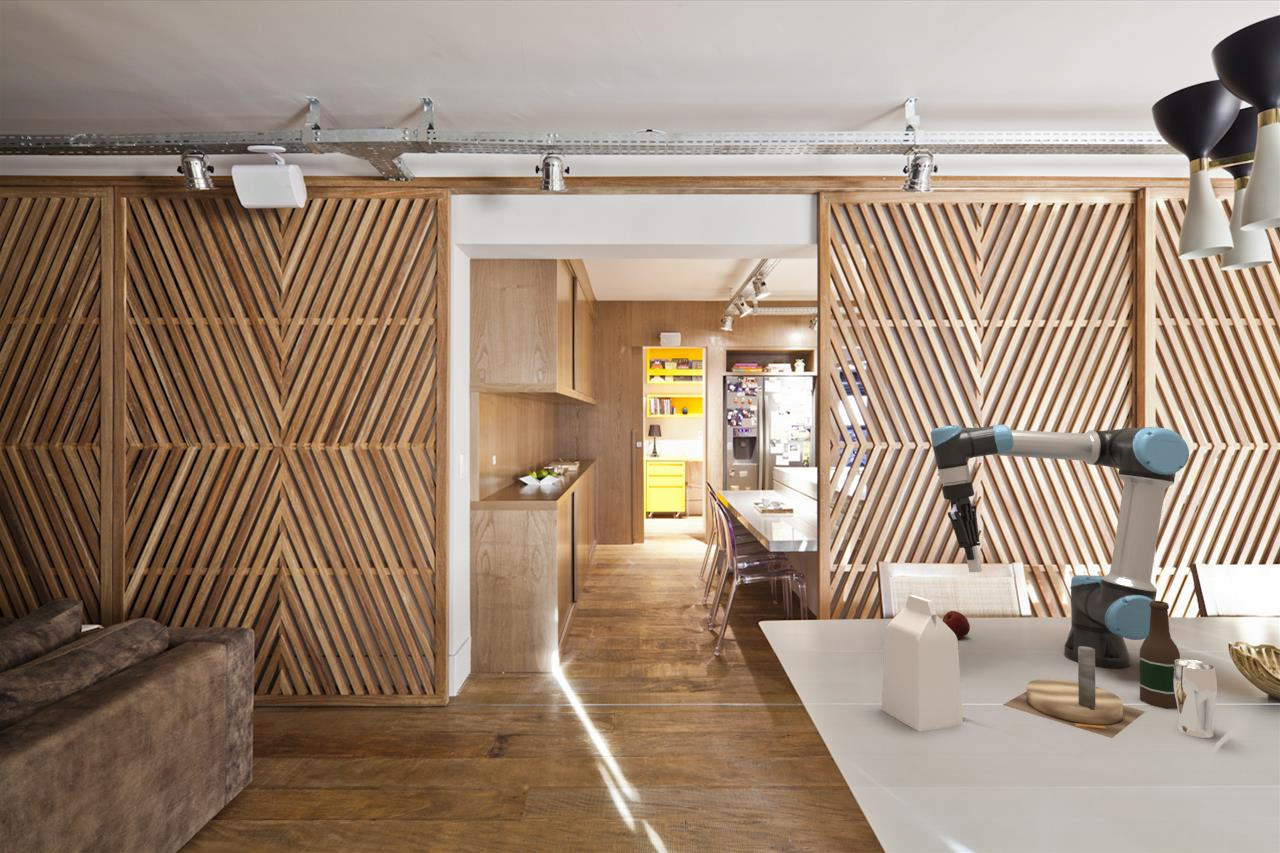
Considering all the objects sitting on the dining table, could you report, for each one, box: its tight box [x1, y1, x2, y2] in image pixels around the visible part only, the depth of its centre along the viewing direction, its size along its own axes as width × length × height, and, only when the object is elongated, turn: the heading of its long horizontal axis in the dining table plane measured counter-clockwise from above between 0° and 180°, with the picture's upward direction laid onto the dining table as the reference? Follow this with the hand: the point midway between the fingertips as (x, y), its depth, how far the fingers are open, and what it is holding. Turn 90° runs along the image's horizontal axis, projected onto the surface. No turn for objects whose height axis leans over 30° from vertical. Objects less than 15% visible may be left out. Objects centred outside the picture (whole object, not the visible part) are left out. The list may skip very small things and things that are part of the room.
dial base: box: [1002, 691, 1146, 739], centre depth 148 cm, size 21×21×2 cm
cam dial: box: [1025, 646, 1124, 724], centre depth 148 cm, size 18×18×15 cm
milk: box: [880, 594, 964, 732], centre depth 147 cm, size 12×12×26 cm
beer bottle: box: [1139, 600, 1181, 710], centre depth 152 cm, size 8×8×24 cm
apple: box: [941, 610, 971, 639], centre depth 205 cm, size 7×8×8 cm
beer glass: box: [1173, 658, 1218, 739], centre depth 137 cm, size 7×7×15 cm
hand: (975, 571), depth 175 cm, fingers closed
